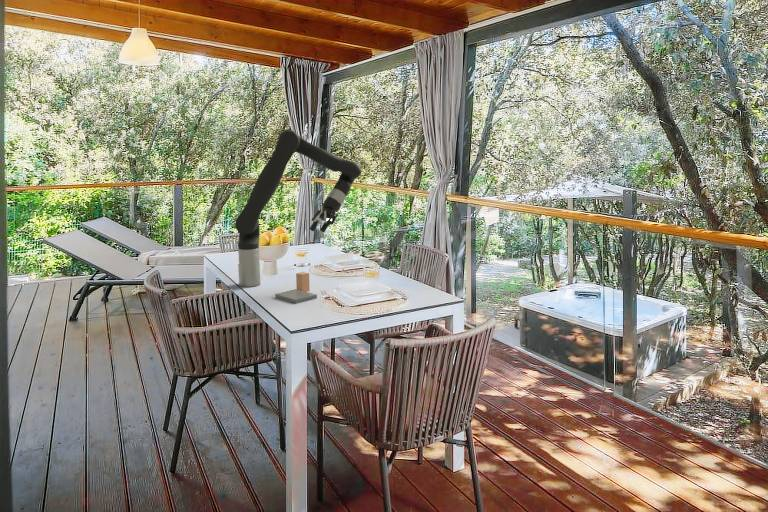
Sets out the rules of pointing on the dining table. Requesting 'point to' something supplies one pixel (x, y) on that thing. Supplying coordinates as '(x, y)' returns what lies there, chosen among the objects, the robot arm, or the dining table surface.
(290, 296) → the slate tile
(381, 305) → the dining table surface
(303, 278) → the terracotta block
